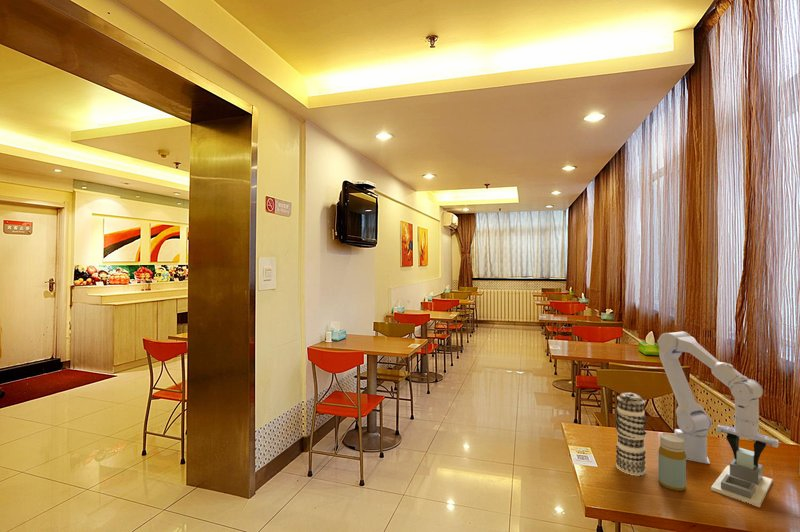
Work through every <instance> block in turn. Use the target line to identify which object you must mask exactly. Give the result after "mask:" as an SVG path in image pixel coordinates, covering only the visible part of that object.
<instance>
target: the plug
mask: <svg viewBox="0 0 800 532" xmlns="http://www.w3.org/2000/svg"><path fill="white" fill-rule="evenodd" d="M737 465H739V466H743V467H746V468H749V469H752V470H756V465H754V450H749V449H746V448H742V447H739V449H738V450H737Z"/></svg>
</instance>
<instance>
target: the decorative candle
mask: <svg viewBox="0 0 800 532" xmlns="http://www.w3.org/2000/svg"><path fill="white" fill-rule="evenodd" d="M616 398H617V408H615V411H614V413H615V418H614V420H615V424H616V428H615V431H616V434H617V441H616V443H617V444H616V445H615V448H616V450H615V452H616V455H615V458H616V459H615V462H616V463H615V464H616V465H615V466H616V467H615V468H616V469H619V470H618V471H620V470H621V471H622V473H623V472H625V473H624V474H626V473H627V474H626V475H628V474H630V476H633V475H635V476H634V477H641V476H644V475H645V474H646V470H645V469H646V465H645V464H646V463H647V462H646V460H645V459H646V455H645V454H646V453H647V452H646V450H645V444H644V443H645V439H646V434H647V432H646V430H647V427H646V426H645V425H646V424H647V423H648V422H647V421H646V420H647V418H648V417H647V415H646V414H645V403H646V401H645V400H644V399H643V398H642V396H641V395H639V394H637V393H633V392H621V393H620V394H619V395H617V397H616ZM621 471H620V472H621ZM640 475H641V476H640Z"/></svg>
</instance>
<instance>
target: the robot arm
mask: <svg viewBox="0 0 800 532" xmlns="http://www.w3.org/2000/svg"><path fill="white" fill-rule="evenodd" d="M656 343H657V345H658V347H659V351H658V352H659V354H658V355H659V360H660V362H661V365H662V367H663V370H664V371H665V374H666V377H667V380H668V382H669V385H670V387H671V389H672V392H673V395H674V397H675V400H676V402H677V405H678V406H677V408H676V410H675V414H676V424H677V426H678V428H675V429H674V431H673V432H674V433H673V434H674V435H678V436H680V437H682V438H683V439H684V452H685V454H686V461H690V462H695V463H696V462H697V463H701V464H707V465H711V462H710V459H709V457H708V431H709V429H711V428H712V425H713V423H712V422H713V421H712V419H711V416H709V415H708V414H707V413H706V411H705V409H704V407H703V406H702V405H701V404H699V403H697V401H696V399H695V396H694V394H693V391H692V389H691V387H690V385H689V382H688V380H687V376H686V375H685V372H684V371H683V367H682V365H681V363H680V360H679V358H680V357H681V356H682V353H689V354H690V355H692V356H693V357H695V359H697V360H699V361H700V362H702V363H703V364H704V365H705V366H707V367H708V368H710V371H711V374H712V375H713V376H714V377H715V378H716V379H717V380H719V381H720V382H721V383H723V384H724V385H725V386H726V387H727V388H729V389H730V393H731V395H732V396H733V398H734V426H733V427H732V426H726V425H721V424H717V426H716V432H717V433H720V434H721V433H722V434H726V436H725V437H726V441H727V442H728V443H729V445H730V448H731V450H732V453H733V457H734V458H735V459H736V460H737V450H738V449H739V448H740V438H741V439H746V440H748V441H753V442H754V443H753V452H754V465H756V466H757V465H758V464H759V460H760V456H761V455H762V452H763V451H764V449H765V448H766V447H767V445H768V446H770V447H773V448H776V449H777V448H779V439H776V438H772V437H771V436H767V435H764V434H761V433H760V432H759V429H760V428H759V426H760V424H759V422H760V421H759V420H760V419H759V417H760V398H762V396H763V394H764V389H763V387H762V385H761V384H760V383H759V382H758V381H756V380H754V379H750V378H748V377H747V376H746V375H743V374H742V373H740V372H739V371H738V370H737V369H735V367H734V365H732V364H731V363H728V362H723V361H719V360H718V359H717V358H716V357H715V356H714V355H712V354H711V353H710V352H709V351H708V350H707V349H706V348H704V347H703V346H702V345H701V344H700V343H698V342H697V340H696V338H695V337H693V336H691V334H690V333H688V332H686V331H683V330H681V331H676V332H664V333H661V334H660V336H659V338H658V339H657V341H656ZM734 458H733V459H734Z"/></svg>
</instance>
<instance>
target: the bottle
mask: <svg viewBox="0 0 800 532" xmlns="http://www.w3.org/2000/svg"><path fill="white" fill-rule="evenodd" d="M659 437H660V438H659V443H660V444H659V447H658V460H657V461H658V468H657V469H658V472H657V475H658V482H659V484H660V485H661V486H662V487H664V488H665V487H666V489H667V488H668V489H667V490H670V491H673V490H675V491H674V492H682V491H684V490H685V489H686V488H687V460H686V454H685V452H684V439H683V438H682V437H680V436H678V435H674V433H666V432H665V433H661V434H660V435H659Z"/></svg>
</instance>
